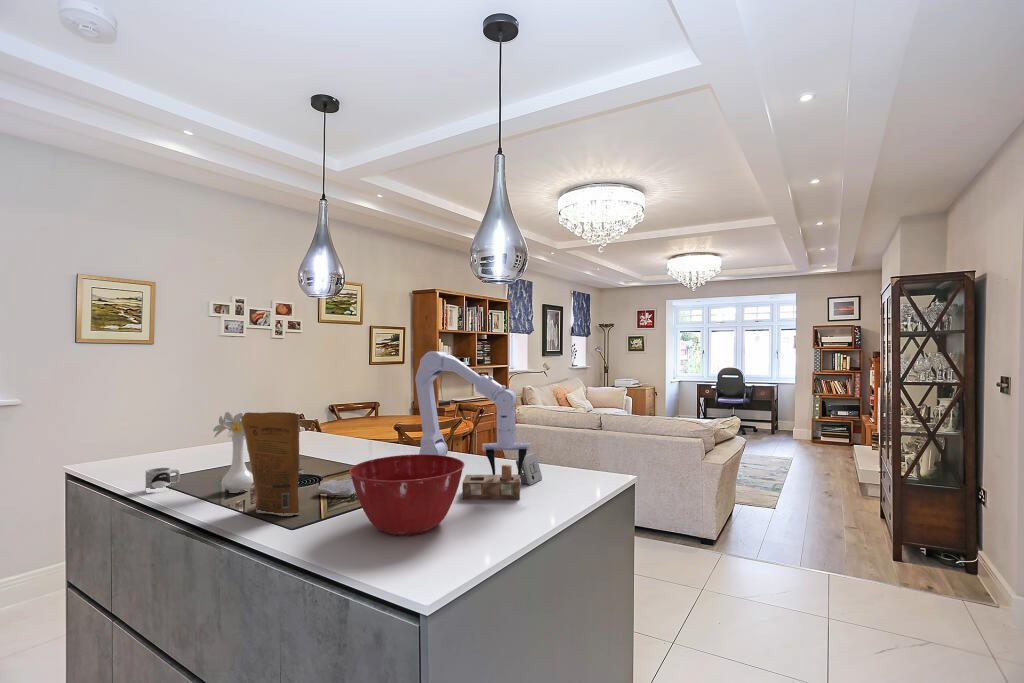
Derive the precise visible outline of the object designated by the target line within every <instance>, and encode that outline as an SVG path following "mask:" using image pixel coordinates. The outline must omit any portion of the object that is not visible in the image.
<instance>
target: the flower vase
mask: <svg viewBox="0 0 1024 683" xmlns="http://www.w3.org/2000/svg"><path fill="white" fill-rule="evenodd" d="M243 415H244V414H243V413H242V412H240V413H237V414H235V415H234V416H233V415H232V414H231V412H229V411H226V412H225V413H224V416H222V415H220V416H219V417H218V425H216V426H215V427H214V428H213V430H212V431H213V432H216V433H215V435H214V436H213V437H214V438H216V437H217V436H218V435H220V434H221V433H222V432H224V430H226V429H228V432H227V437H228V438H231V442H232V457H231V458H232V460H231V465H230V468H229V470H228V472H227V473H226V474H225V475H224V476H223V477H222V479H221V486H222V488H224V489H225V490H226V491H227V490H229V491H240V490H245V489H247V488H249V489H250V487H251V486H252V485H254V482H253V474H252V471H250V470H249V469H248V468H247V465H246V463H245V456H244V441H245V434H244V430H243V427H242V422H241V416H243Z"/></svg>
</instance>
